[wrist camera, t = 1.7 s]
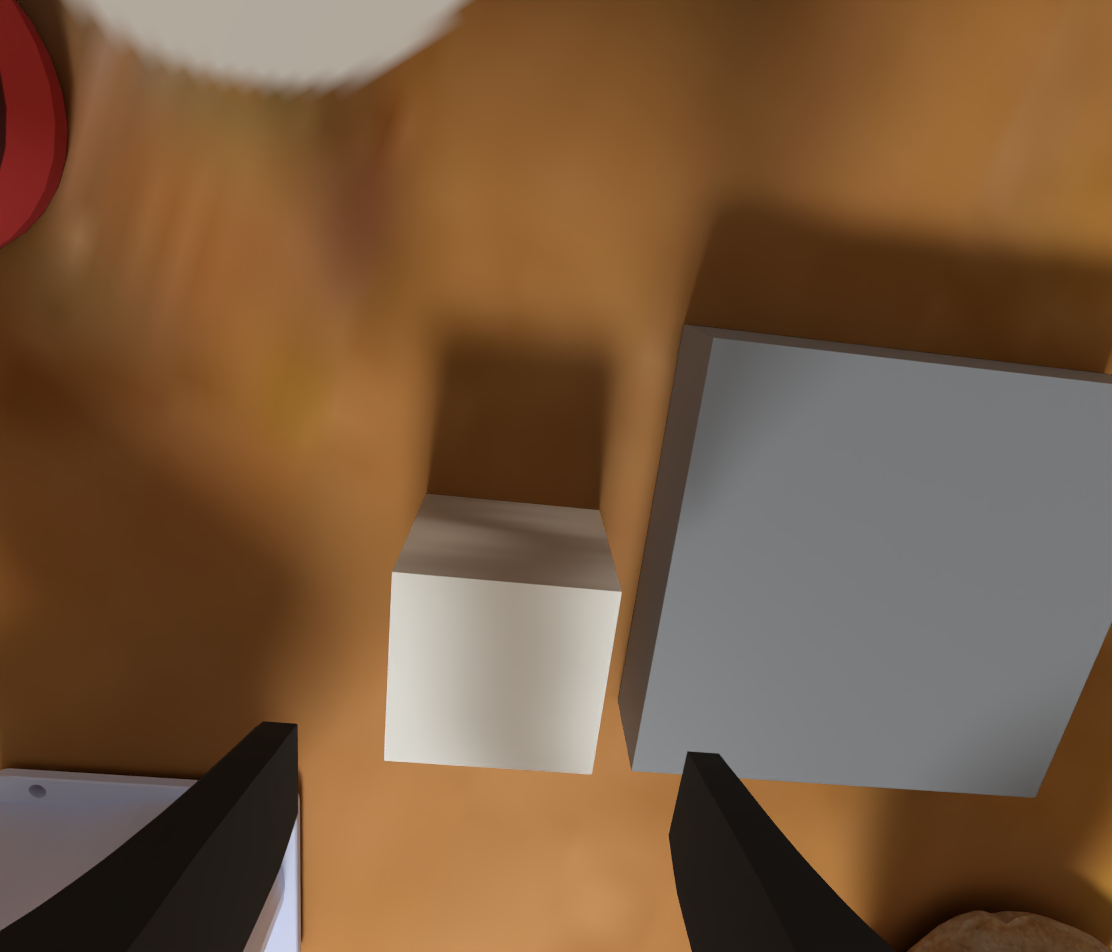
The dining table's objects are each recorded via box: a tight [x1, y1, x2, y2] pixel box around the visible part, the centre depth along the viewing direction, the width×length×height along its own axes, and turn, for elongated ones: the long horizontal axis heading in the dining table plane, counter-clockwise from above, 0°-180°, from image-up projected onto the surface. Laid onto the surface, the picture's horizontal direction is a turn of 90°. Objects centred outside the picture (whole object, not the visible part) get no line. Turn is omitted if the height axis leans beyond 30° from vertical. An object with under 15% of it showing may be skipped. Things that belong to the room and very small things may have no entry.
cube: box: [384, 494, 622, 774], centre depth 17 cm, size 5×5×5 cm
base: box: [618, 324, 1112, 798], centre depth 18 cm, size 12×12×3 cm
